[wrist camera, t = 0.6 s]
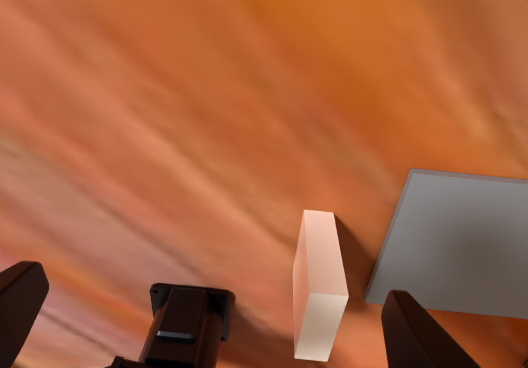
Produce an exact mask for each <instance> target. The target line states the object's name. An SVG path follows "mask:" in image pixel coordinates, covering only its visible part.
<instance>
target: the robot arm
mask: <svg viewBox="0 0 528 368" xmlns="http://www.w3.org/2000/svg"><path fill="white" fill-rule="evenodd" d="M48 290H49V282H48V279H47V277H46V274H45V272H44V269H43V266H42V264H41V263H40V262H37V261H21V262H19V263H17V264H15V265H13V266H11V267H10V268H8V269H6V270H4V271H2V272H0V368H11V366H12V364H13V363H14V361H15V359H16V357H17V356H18V354H19V352H20V350H21V348H22V347H23V345H24V343H25V341H26V339H27V336H28V334H29V332H30V330H31V328H32V326H33V324H34V321H35V319H36V317H37V315H38V313H39V311H40V309H41V306H42V304H43V302H44V300H45V298H46V296H47V294H48ZM150 296H151V303H152V310H153V317H154V320H153V322H152V325H151V328H150V330H149V333H148V336H147V338H146V341H145V344H144V346H143V349H142V352H141V354H140V357H139V360H138V362H136V361H132V360H127V359H124V357H120V356H116V357H115V359H114V361H113V363H112V365H111V366H108V367H105V368H215V367H216V362H217V356H218V350H219V345H220V342H226V341H227V340H228V332H229V309H230V293H229V292H227V291H223V290H213V289H203V288H194V287H184V286H174V285H164V284H153V285H152V286H151V288H150ZM381 319H382V326H383V333H384V340H385V347H386V354H387V361H388V368H481V367H480V366H479V365H478V364H477V363H476V362H475V361H474V360H473V359H472V358H471V357H470V356H469V355H468V354H467V353H466V352H465V350H464V349H463V348H462V347H461V346H460V345H459V344H458V343H457V342H456V341H455V340H454V339H453V338H452V337H451V336H450V335H449V334H448V333H447V332H446V331H445V330H444V329H443V328H442V327H441V326H440V324H439V323H438V322H437V321H436V320H435V319H434V318H433V317H432V316H431V315H430V314H429V313H428V312H427V311H426V310H425V309H424V308H423V307H422V306H421V305H420V304H419V303H418V302H417V301H416V300H415V299H414V297H413V296H412V295H411V294H410V293H409V292H407V291H405V290H394V289H392V290H390V291H389V292H388V294H387V297H386V300H385V303H384V306H383V308H382V313H381Z"/></svg>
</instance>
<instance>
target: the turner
mask: <svg viewBox="0 0 528 368" xmlns="http://www.w3.org/2000/svg"><path fill="white" fill-rule="evenodd" d="M523 365H524V367H525V368H528V359H527V360H526V361H525V362H524V363H523Z"/></svg>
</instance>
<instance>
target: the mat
mask: <svg viewBox="0 0 528 368" xmlns="http://www.w3.org/2000/svg"><path fill="white" fill-rule="evenodd" d="M392 289H394V290H405V291H407V292H409V293H410V294H411V295H412V296H413V297H414V299H415V300H416V301H417V302H418V303H419V304H420V305H421V306H422V307H423V308H424V309H433V310H443V311H452V312H462V313H472V314H482V315H492V316H502V317H512V318H522V319H528V180H523V179H513V178H503V177H493V176H483V175H473V174H463V173H453V172H443V171H433V170H423V169H413V168H411V169H410V171H409V174H408V177H407V179H406V182H405V185H404V188H403V190H402V193H401V196H400V199H399V201H398V204H397V207H396V210H395V212H394V215H393V218H392V221H391V223H390V226H389V229H388V232H387V234H386V237H385V240H384V243H383V245H382V248H381V251H380V253H379V256H378V259H377V262H376V264H375V267H374V270H373V273H372V275H371V278H370V281H369V284H368V286H367V289H366V292H365V295H364V299H365V303H373V304H383V305H384V303H385V300H386V297H387V294H388V292H389V291H390V290H392Z"/></svg>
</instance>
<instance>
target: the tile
mask: <svg viewBox="0 0 528 368" xmlns="http://www.w3.org/2000/svg"><path fill="white" fill-rule="evenodd" d="M348 297H349V295H348V290H347V284H346V279H345V274H344V268H343V263H342V257H341V252H340V246H339V241H338V235H337V230H336V225H335V219H334V214H333V213H332V212H322V211H312V210H304V212H303V218H302V223H301V229H300V234H299V240H298V245H297V251H296V256H295V262H294V267H293V312H294V358H296V359H306V360H316V361H326V362H327V361H328V358H329V355H330V352H331V349H332V346H333V343H334V340H335V337H336V334H337V331H338V328H339V324H340V321H341V318H342V315H343V312H344V309H345V306H346V303H347V300H348Z"/></svg>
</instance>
